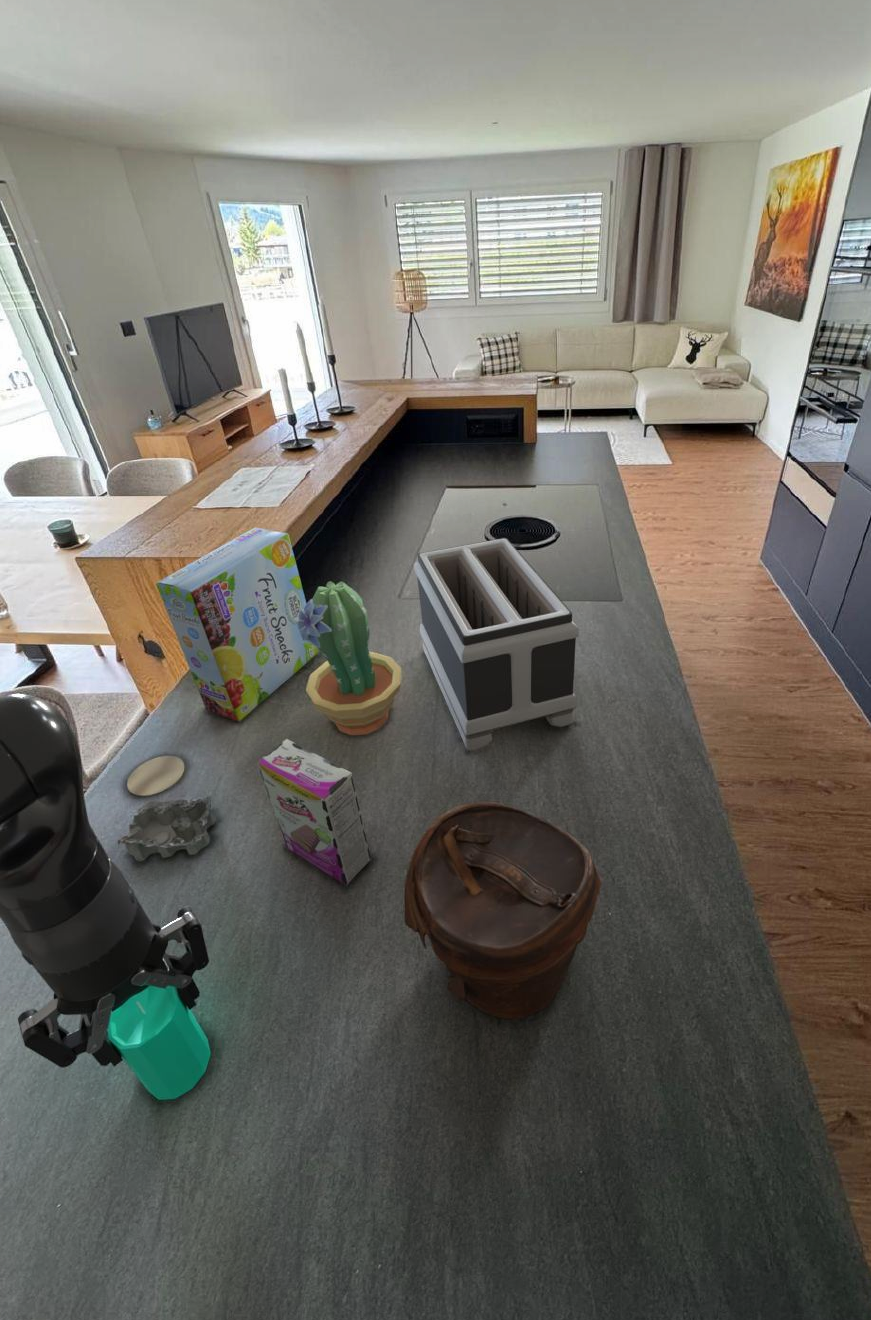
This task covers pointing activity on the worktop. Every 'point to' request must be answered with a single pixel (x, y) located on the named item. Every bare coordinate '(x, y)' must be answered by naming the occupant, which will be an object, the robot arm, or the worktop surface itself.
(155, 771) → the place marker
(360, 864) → the candy bar box
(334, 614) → the potted cactus
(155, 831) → the egg carton
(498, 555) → the toaster
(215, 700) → the snack box
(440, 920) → the case
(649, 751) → the worktop surface
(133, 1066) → the candle
